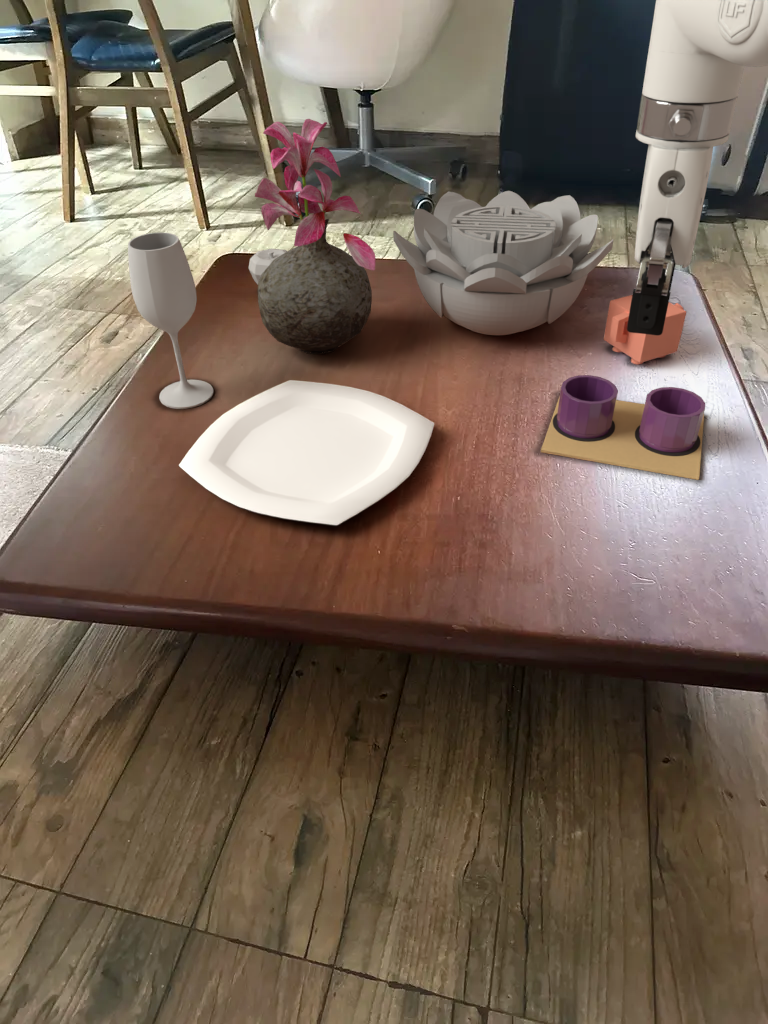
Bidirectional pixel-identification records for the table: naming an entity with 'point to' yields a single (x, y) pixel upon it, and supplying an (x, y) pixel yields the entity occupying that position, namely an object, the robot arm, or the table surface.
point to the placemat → (624, 445)
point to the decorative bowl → (502, 260)
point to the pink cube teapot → (643, 344)
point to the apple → (263, 261)
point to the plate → (309, 451)
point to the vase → (312, 255)
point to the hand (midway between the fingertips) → (649, 311)
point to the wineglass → (166, 304)
